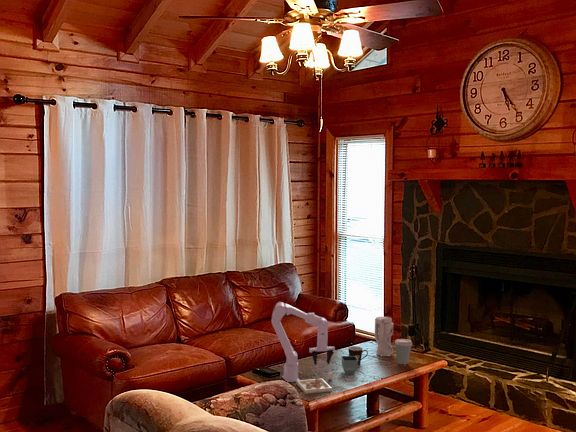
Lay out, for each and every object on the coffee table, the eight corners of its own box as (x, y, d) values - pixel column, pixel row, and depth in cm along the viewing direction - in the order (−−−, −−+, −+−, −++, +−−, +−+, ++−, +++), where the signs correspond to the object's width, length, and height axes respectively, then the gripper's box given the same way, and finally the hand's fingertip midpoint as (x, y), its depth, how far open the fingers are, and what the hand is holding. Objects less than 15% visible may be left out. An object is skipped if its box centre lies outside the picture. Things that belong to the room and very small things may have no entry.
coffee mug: (346, 365, 372) (347, 349, 371) (349, 361, 380) (349, 345, 379) (365, 367, 368) (366, 351, 367) (368, 363, 376) (368, 347, 376)
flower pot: (340, 370, 362) (341, 355, 362) (355, 370, 363) (355, 355, 362) (342, 375, 354) (343, 360, 353) (357, 375, 354) (358, 360, 353)
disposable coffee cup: (390, 362, 379) (391, 339, 377) (402, 359, 385) (403, 336, 384) (402, 367, 370) (403, 343, 369) (415, 364, 377) (416, 340, 375)
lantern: (382, 350, 403) (383, 313, 401) (395, 354, 395) (396, 316, 393) (370, 355, 394) (371, 316, 391) (383, 358, 386) (385, 319, 384)
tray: (296, 384, 339) (296, 380, 338) (321, 381, 343) (322, 378, 343) (305, 393, 324) (305, 390, 324) (331, 391, 329) (332, 387, 329)
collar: (306, 385, 336) (305, 376, 336) (318, 384, 338) (317, 375, 338) (312, 389, 326) (312, 380, 326) (324, 387, 328) (324, 379, 328)
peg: (327, 379, 347) (328, 372, 346) (331, 379, 347) (331, 372, 347) (329, 380, 345) (329, 373, 345) (332, 380, 346) (332, 373, 345)
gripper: (312, 343, 338) (311, 367, 339) (337, 341, 342) (336, 365, 343) (308, 339, 344) (307, 363, 346) (332, 337, 349) (331, 361, 350)
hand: (321, 363), depth 345 cm, fingers open, 7 cm apart
